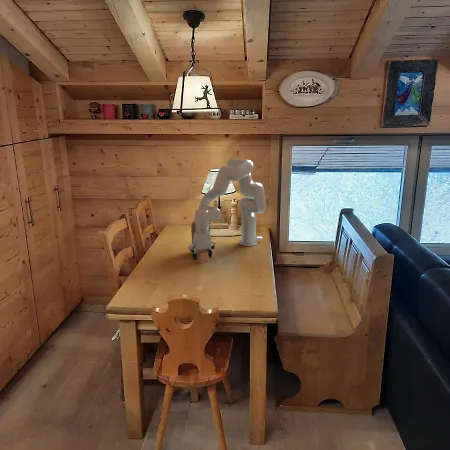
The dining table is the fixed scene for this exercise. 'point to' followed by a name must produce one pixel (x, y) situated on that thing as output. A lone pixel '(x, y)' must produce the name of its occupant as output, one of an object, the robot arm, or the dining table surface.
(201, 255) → the brick terracotta
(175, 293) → the dining table surface
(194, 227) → the wooden block
